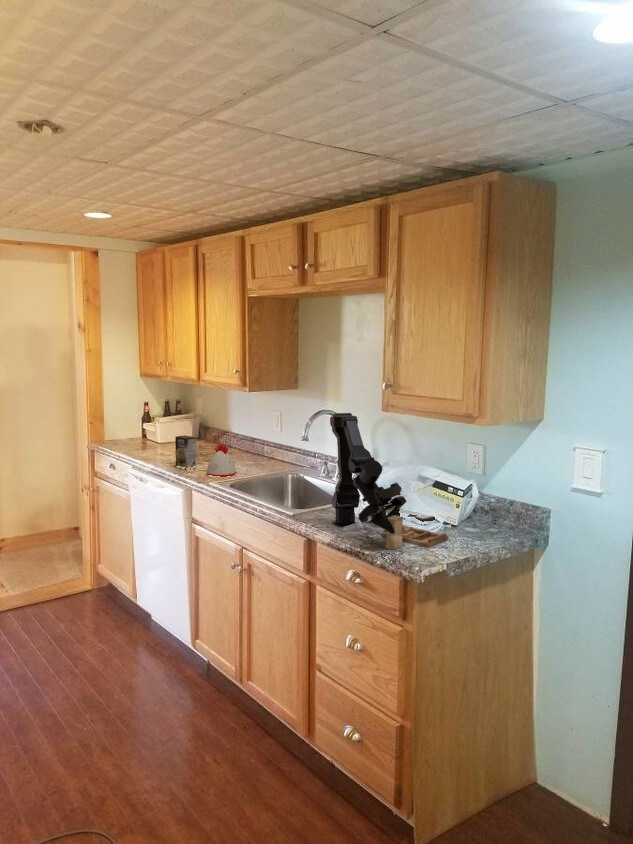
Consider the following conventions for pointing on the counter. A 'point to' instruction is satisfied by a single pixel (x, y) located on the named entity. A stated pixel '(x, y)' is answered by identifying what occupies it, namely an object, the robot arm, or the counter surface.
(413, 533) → the oak offcut lower
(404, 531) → the oak offcut upper
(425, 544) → the rack
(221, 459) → the grey pompom beanie
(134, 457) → the counter surface
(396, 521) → the tan wooden block
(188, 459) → the coffee box
